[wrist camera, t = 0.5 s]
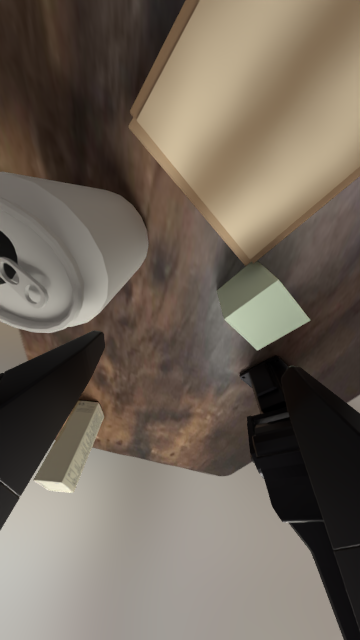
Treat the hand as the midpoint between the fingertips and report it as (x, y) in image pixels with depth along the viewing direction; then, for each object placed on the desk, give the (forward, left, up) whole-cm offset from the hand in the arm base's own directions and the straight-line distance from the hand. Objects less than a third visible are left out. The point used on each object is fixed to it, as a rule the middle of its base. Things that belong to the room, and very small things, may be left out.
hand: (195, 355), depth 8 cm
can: (+8, +3, -13) cm, 16 cm away
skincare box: (-6, +35, -13) cm, 38 cm away
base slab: (+4, -11, -13) cm, 17 cm away
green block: (-6, -3, -13) cm, 14 cm away
